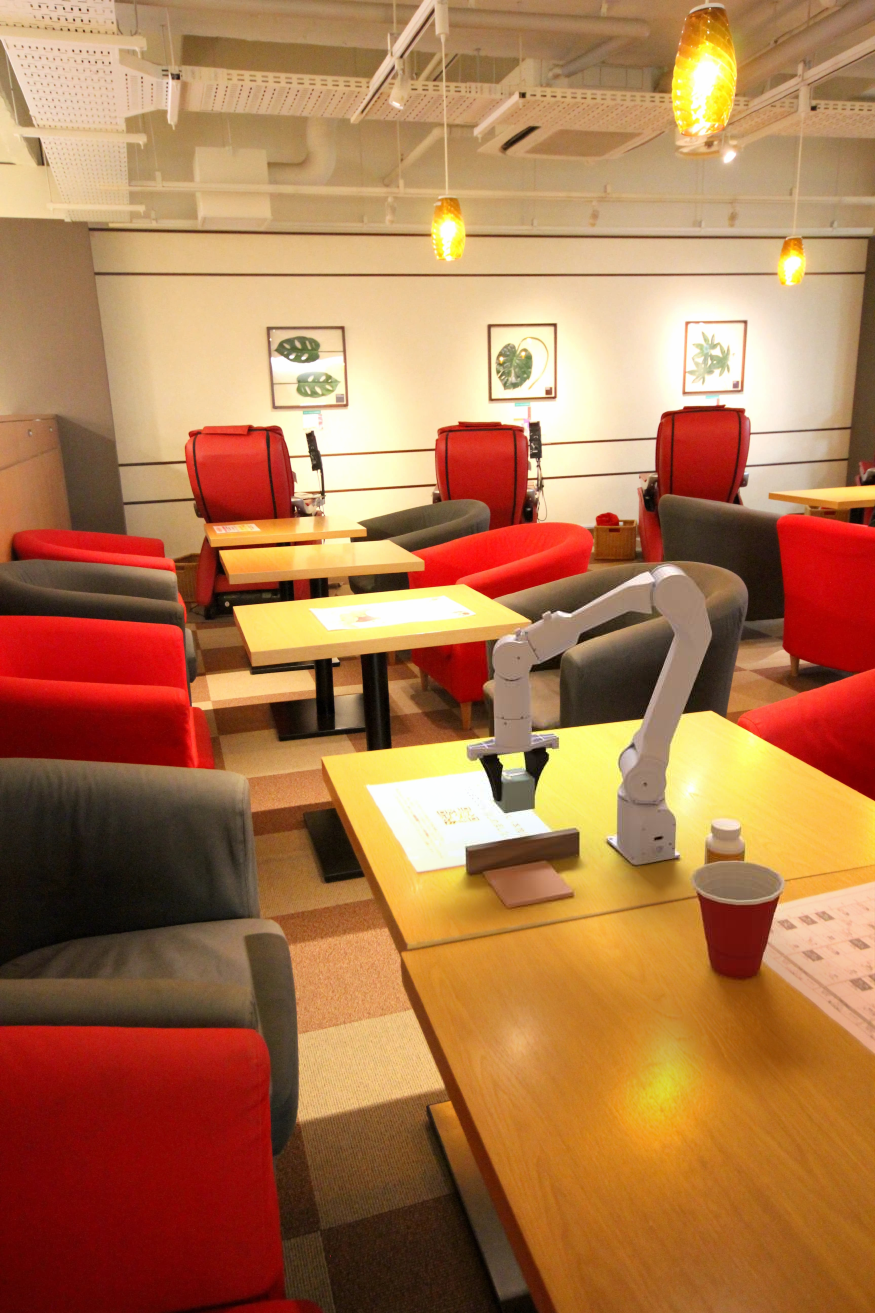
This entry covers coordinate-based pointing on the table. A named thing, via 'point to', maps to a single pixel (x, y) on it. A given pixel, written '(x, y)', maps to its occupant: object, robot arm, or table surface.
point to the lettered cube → (517, 791)
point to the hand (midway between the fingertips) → (514, 796)
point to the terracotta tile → (527, 884)
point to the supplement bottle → (724, 842)
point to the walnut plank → (522, 850)
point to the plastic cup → (737, 913)
